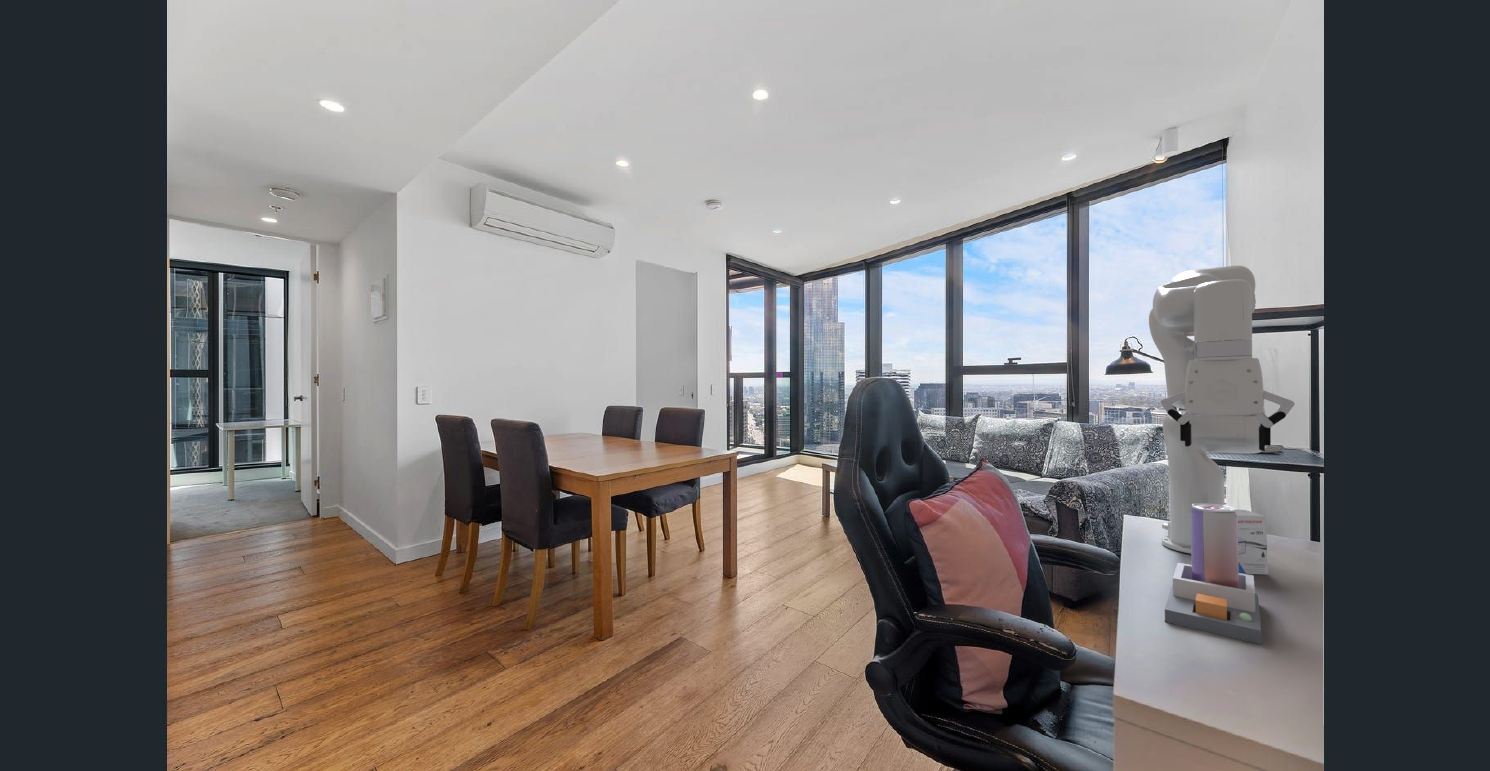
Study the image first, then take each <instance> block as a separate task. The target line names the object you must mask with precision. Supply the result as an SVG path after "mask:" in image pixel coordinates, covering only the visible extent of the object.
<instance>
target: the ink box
mask: <svg viewBox="0 0 1490 771" xmlns="http://www.w3.org/2000/svg"><path fill="white" fill-rule="evenodd" d="M1235 512H1236V514H1237V516H1238V565H1239V573H1241V574H1247V575H1268V574H1269V571H1268V570H1269V566H1268V564H1269V563H1268V562H1269V561H1268V543H1267V542H1268V541H1267V540H1268V539H1267V536H1268V535H1267V516H1266V515H1264V514H1260V513H1256V512H1254V511H1251V510H1247V509H1246V510H1245V509H1236V511H1235Z"/></svg>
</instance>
